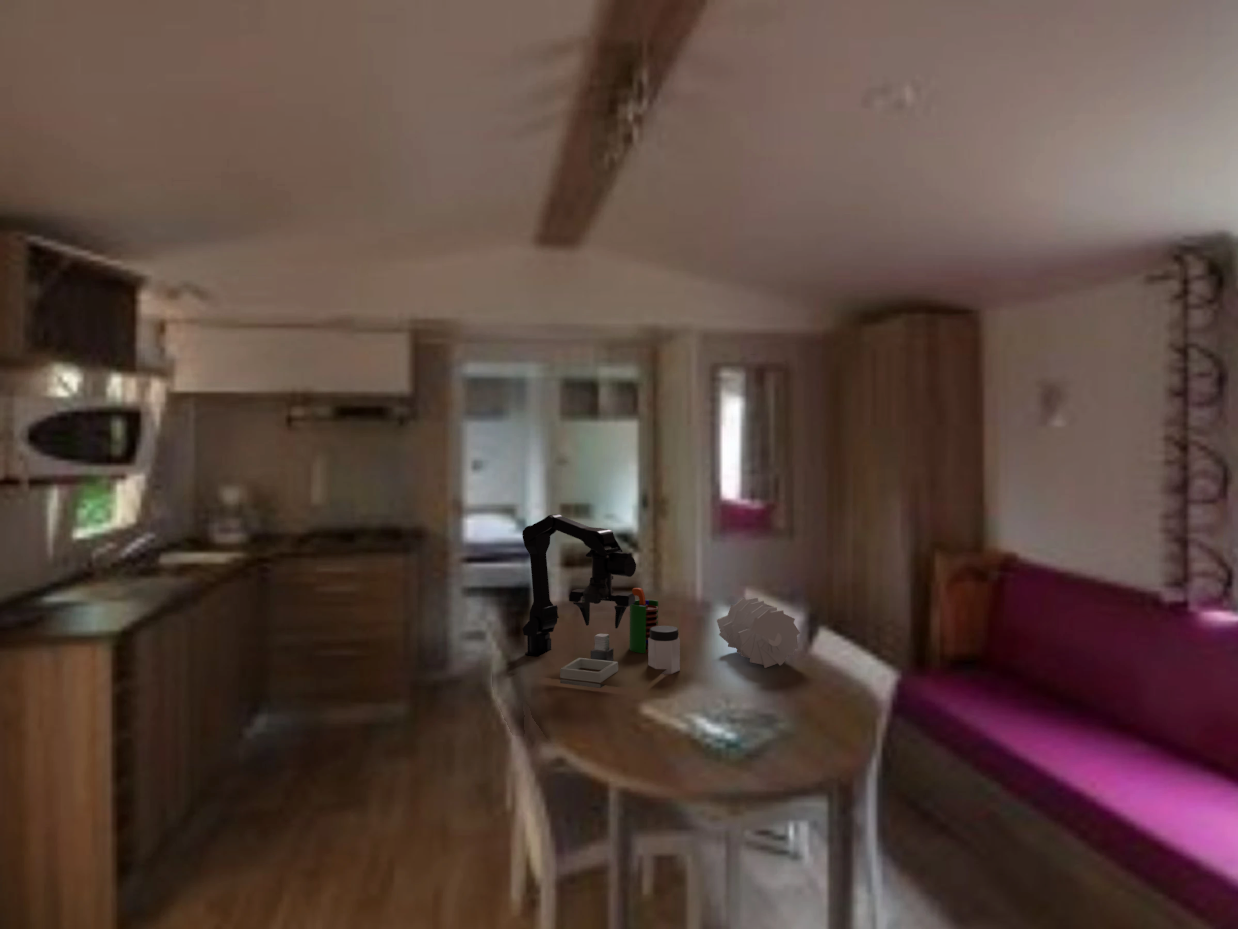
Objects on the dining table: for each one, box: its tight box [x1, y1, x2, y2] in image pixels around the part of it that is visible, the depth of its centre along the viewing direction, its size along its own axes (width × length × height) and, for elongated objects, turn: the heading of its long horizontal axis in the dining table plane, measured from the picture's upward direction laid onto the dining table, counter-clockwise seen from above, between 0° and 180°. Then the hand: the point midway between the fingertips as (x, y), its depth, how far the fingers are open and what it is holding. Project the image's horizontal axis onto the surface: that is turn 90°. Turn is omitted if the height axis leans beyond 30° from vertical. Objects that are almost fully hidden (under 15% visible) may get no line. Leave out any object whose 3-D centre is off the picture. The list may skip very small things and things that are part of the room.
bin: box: [559, 657, 619, 689], centre depth 238 cm, size 12×12×4 cm
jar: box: [647, 625, 681, 675], centre depth 247 cm, size 9×8×12 cm
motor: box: [628, 587, 659, 654], centre depth 265 cm, size 10×9×20 cm
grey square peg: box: [590, 633, 614, 661], centre depth 251 cm, size 5×5×8 cm
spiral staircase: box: [716, 597, 801, 669], centre depth 257 cm, size 18×18×25 cm
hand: (601, 626), depth 251 cm, fingers open, 9 cm apart
